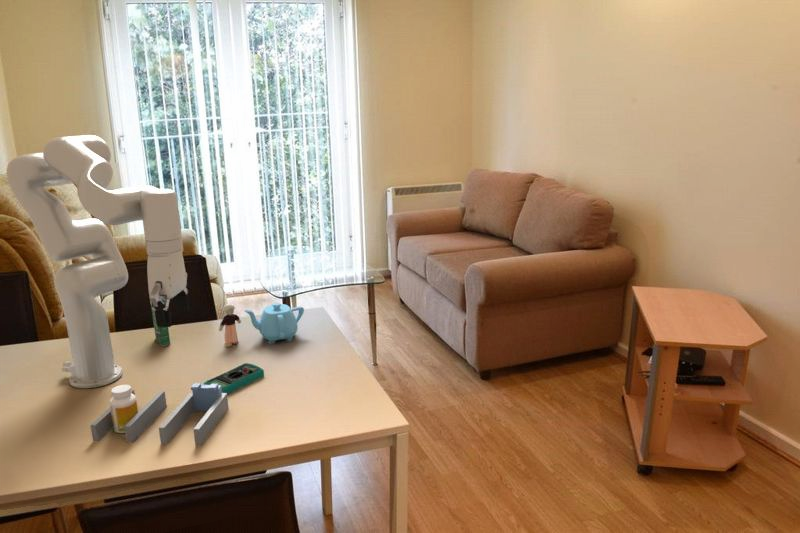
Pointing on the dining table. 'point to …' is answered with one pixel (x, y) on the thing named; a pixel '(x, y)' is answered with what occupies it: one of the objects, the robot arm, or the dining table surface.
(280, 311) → the teapot
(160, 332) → the coffee box
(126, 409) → the supplement bottle
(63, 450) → the dining table surface
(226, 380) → the digital multimeter
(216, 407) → the grey parallel walls
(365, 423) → the dining table surface
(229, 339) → the grandmother figurine
